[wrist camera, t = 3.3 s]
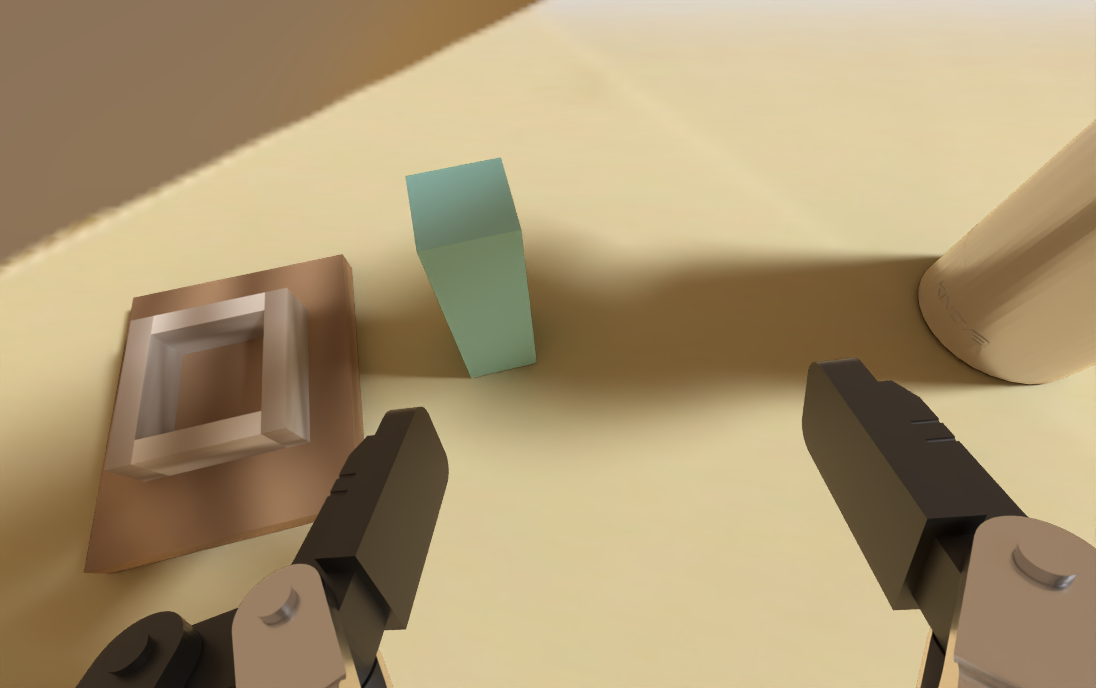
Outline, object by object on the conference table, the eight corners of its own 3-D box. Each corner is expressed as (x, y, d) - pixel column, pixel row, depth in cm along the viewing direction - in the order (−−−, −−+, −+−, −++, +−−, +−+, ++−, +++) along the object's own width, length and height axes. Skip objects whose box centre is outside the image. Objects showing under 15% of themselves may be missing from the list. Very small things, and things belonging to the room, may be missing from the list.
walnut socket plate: (351, 268, 33) (325, 228, 29) (368, 508, 25) (337, 494, 22) (151, 310, 32) (99, 274, 28) (110, 573, 24) (32, 570, 21)
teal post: (522, 307, 31) (500, 157, 20) (536, 362, 29) (521, 229, 18) (460, 321, 31) (405, 176, 20) (471, 378, 29) (416, 251, 18)
